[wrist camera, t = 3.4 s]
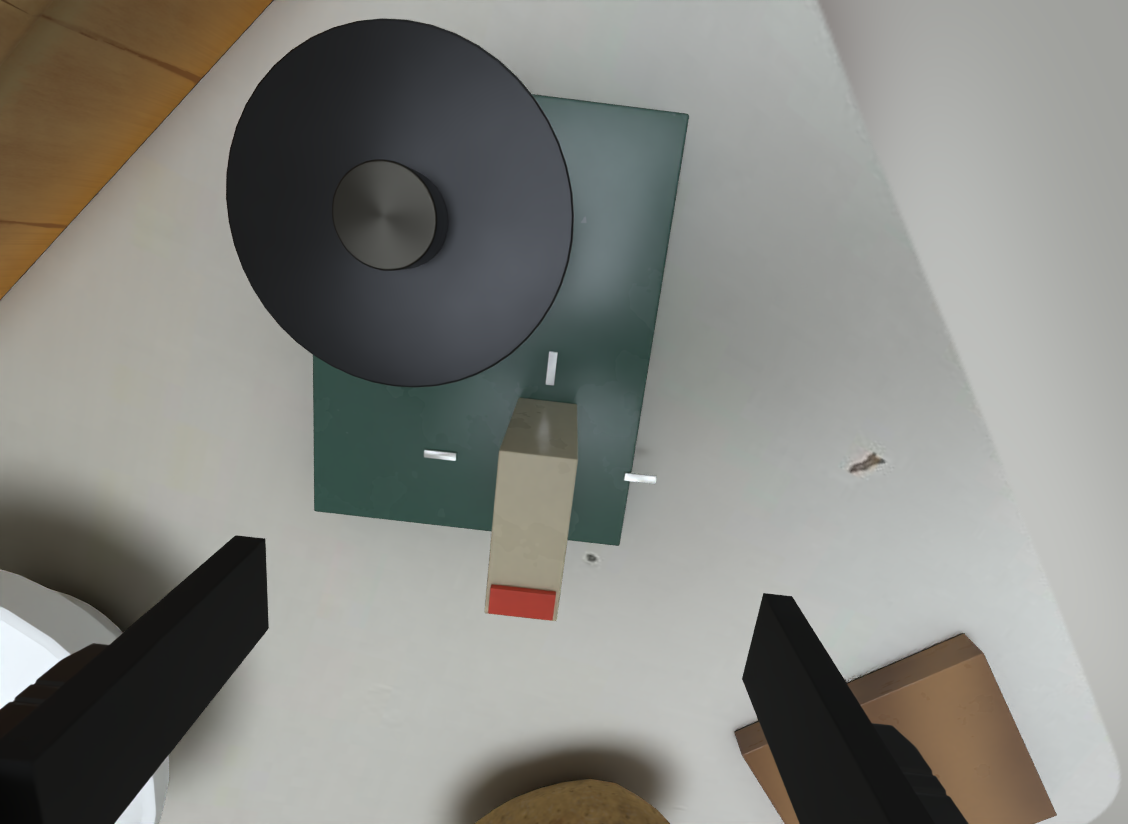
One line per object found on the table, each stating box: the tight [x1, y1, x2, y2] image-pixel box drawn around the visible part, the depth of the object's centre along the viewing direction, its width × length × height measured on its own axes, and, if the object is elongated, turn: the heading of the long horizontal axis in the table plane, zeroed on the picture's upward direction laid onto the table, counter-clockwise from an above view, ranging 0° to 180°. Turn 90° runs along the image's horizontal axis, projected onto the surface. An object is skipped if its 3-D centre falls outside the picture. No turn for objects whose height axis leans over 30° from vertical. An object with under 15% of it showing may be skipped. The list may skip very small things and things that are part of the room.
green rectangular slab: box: [313, 94, 689, 546], centre depth 24 cm, size 15×20×2 cm
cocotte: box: [226, 19, 574, 388], centre depth 17 cm, size 9×9×10 cm
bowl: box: [0, 569, 170, 824], centre depth 27 cm, size 20×20×7 cm
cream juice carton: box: [485, 398, 578, 621], centre depth 22 cm, size 6×2×7 cm, turn 173°
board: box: [735, 634, 1057, 824], centre depth 31 cm, size 13×12×2 cm
